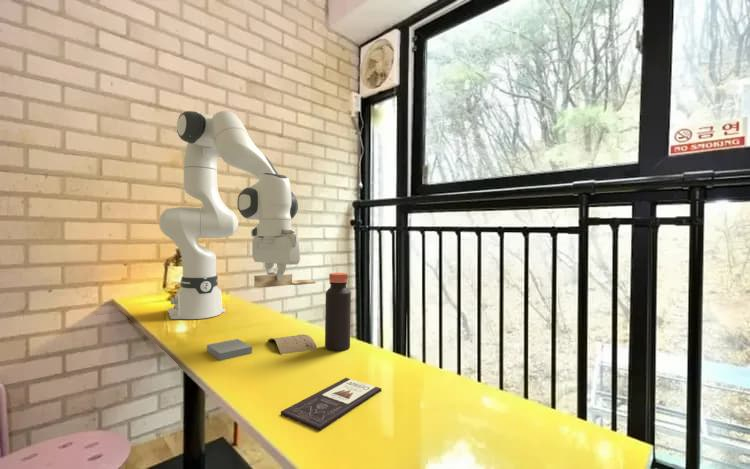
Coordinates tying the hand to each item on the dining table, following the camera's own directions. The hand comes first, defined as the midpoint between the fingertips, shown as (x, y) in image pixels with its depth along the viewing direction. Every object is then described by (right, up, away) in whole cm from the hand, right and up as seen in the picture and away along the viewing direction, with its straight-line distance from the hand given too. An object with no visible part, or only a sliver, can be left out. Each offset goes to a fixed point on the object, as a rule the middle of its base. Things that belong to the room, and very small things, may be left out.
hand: (275, 279), depth 103 cm
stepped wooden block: (+2, -2, +2) cm, 3 cm away
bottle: (+18, -18, -4) cm, 26 cm away
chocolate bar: (+21, -19, -35) cm, 45 cm away
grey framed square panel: (-13, -17, -6) cm, 22 cm away
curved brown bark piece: (+5, -19, -2) cm, 19 cm away
